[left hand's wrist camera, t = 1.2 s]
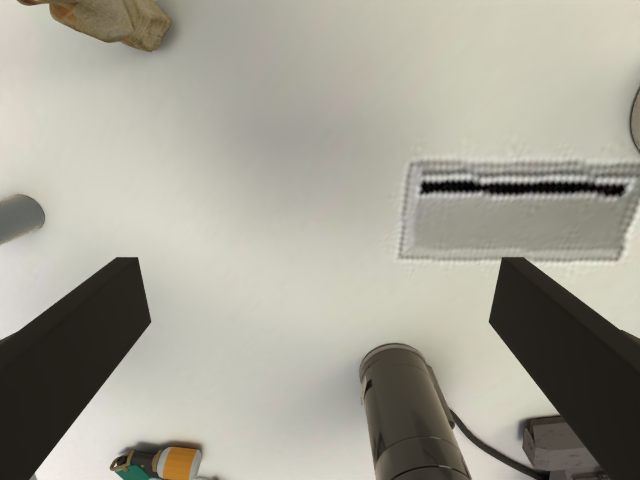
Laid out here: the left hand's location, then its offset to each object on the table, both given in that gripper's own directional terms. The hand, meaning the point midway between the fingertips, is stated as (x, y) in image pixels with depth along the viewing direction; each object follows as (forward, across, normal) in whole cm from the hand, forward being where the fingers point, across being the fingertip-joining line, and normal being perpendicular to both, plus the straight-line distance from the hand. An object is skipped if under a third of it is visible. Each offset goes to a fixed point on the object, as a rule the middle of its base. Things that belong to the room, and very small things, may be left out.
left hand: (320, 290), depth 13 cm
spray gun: (+28, -23, -50) cm, 62 cm away
